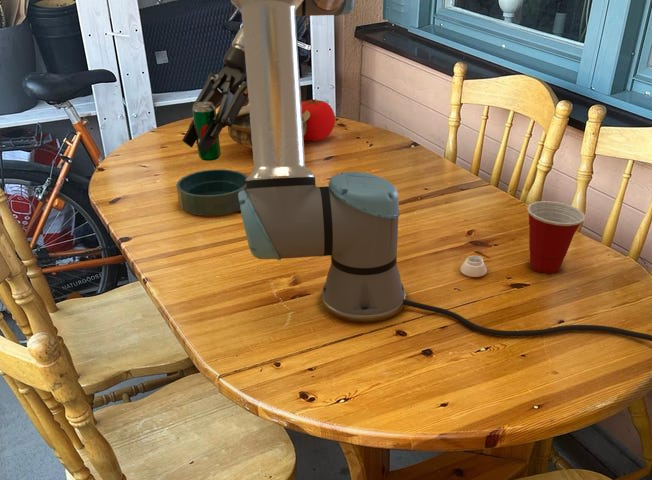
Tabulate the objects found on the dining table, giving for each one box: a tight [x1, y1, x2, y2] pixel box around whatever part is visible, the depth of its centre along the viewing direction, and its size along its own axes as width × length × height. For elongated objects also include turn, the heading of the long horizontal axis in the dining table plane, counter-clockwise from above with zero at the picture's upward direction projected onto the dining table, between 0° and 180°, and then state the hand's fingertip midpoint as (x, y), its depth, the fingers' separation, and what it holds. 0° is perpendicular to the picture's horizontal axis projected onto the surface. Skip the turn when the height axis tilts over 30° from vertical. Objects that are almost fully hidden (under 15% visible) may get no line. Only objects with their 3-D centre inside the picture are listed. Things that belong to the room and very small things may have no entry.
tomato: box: [301, 98, 336, 142], centre depth 201 cm, size 12×13×11 cm
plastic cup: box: [526, 200, 586, 274], centre depth 135 cm, size 11×11×12 cm
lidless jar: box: [459, 255, 488, 278], centre depth 136 cm, size 5×3×5 cm
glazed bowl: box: [175, 168, 249, 216], centre depth 165 cm, size 17×17×5 cm
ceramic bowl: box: [227, 105, 310, 149], centre depth 194 cm, size 30×24×10 cm
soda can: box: [191, 102, 222, 162], centre depth 157 cm, size 5×5×12 cm
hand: (194, 146), depth 156 cm, fingers closed on soda can, 5 cm apart
